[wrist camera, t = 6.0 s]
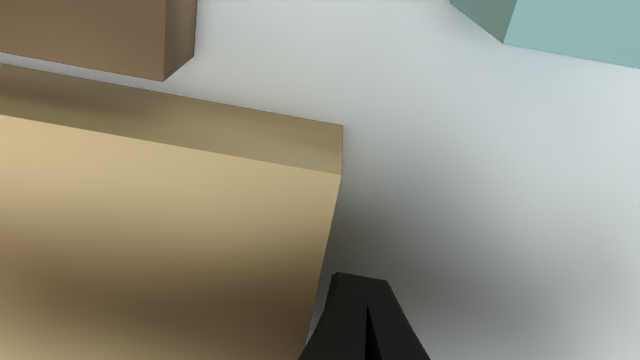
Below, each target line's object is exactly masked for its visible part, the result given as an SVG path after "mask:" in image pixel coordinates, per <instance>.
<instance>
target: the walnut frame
mask: <svg viewBox="0 0 640 360" xmlns="http://www.w3.org/2000/svg"><path fill="white" fill-rule="evenodd" d="M196 9H197V0H0V52H2V53H8V54H13V55H19V56H24V57H30V58H35V59H40V60H46V61H51V62H57V63H62V64H68V65H73V66H79V67H84V68H90V69H95V70H101V71H106V72H112V73H117V74H122V75H128V76H133V77H139V78H144V79H150V80H155V81H161V82H164V81H165V80H166V79H167V78H168V77H170V76H171V75H172V74H173V73H174V72H175V71H177V70H178V69H179V68H180V67H181V66H183V65H184V64H185V63H186V62H187V61H188V60H190V59H191V58H192V57H193V56H194V41H195V25H196Z"/></svg>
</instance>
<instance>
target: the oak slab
mask: <svg viewBox="0 0 640 360" xmlns="http://www.w3.org/2000/svg"><path fill="white" fill-rule="evenodd" d="M342 147H343V126H342V125H337V124H331V123H326V122H320V121H315V120H309V119H304V118H298V117H293V116H287V115H281V114H276V113H270V112H265V111H259V110H254V109H248V108H243V107H237V106H232V105H226V104H221V103H215V102H210V101H204V100H199V99H193V98H188V97H182V96H177V95H171V94H166V93H160V92H155V91H149V90H144V89H138V88H133V87H127V86H122V85H116V84H111V83H105V82H100V81H94V80H89V79H83V78H78V77H72V76H67V75H61V74H56V73H50V72H45V71H39V70H34V69H28V68H23V67H17V66H11V65H6V64H0V360H298V359H299V357H300V355H301V354H302V352H303V350H304V348H305V344H306V339H307V335H308V330H309V325H310V321H311V316H312V311H313V307H314V302H315V298H316V293H317V288H318V284H319V279H320V274H321V270H322V265H323V260H324V256H325V251H326V246H327V242H328V237H329V232H330V228H331V223H332V218H333V214H334V209H335V204H336V200H337V195H338V191H339V186H340V181H341V177H342Z"/></svg>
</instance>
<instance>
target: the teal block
mask: <svg viewBox="0 0 640 360" xmlns="http://www.w3.org/2000/svg"><path fill="white" fill-rule="evenodd" d="M451 4H452V5H453V6H455V7H456V8H457V9H459V10H460V11H461V12H462V13H464V14H465V15H466V16H468V17H469V18H470V19H471V20H473V21H474V22H475V23H477V24H478V25H479V26H481V27H482V28H483V29H484V30H486V31H487V32H488V33H490V34H491V35H492V36H493V37H495V38H496V39H497V40H499V41H500V42H501V43H502V44H506V45H512V46H517V47H523V48H528V49H534V50H539V51H544V52H550V53H555V54H561V55H566V56H572V57H577V58H583V59H588V60H594V61H599V62H604V63H610V64H615V65H621V66H626V67H632V68H637V69H640V0H451Z"/></svg>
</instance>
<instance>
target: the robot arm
mask: <svg viewBox="0 0 640 360" xmlns="http://www.w3.org/2000/svg"><path fill="white" fill-rule="evenodd" d="M298 360H431V359H430V358H429V356H428V354H427V353H426V351H425V349H424V348H423V346H422V344H421V343H420V341H419V339H418V338H417V336H416V334H415V333H414V331H413V329H412V327H411V326H410V324H409V322H408V320H407V318H406V316H405V315H404V313H403V311H402V309H401V307H400V305H399V303H398V301H397V299H396V297H395V295H394V293H393V291H392V289H391V287H390V285H389V284H388V282H387V281H385V280H380V279H374V278H368V277H362V276H357V275H351V274H345V273H340V272H337V273H335V274H334V275H332V278H331V282H330V286H329V291H328V295H327V299H326V304H325V308H324V311H323V313H322V315H321V317H320V320H319V322H318V324H317V326H316V328H315V330H314V332H313V334H312V336H311V338H310V340H309V341H308V343H307V345H306V347H305V348H304V350H303V352H302V354H301V355H300V357H299V359H298Z"/></svg>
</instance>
